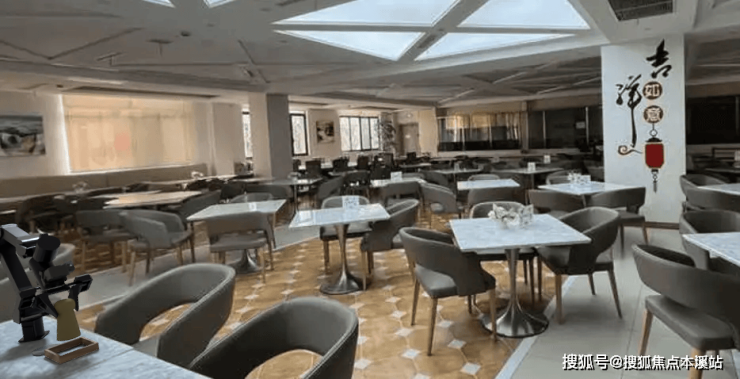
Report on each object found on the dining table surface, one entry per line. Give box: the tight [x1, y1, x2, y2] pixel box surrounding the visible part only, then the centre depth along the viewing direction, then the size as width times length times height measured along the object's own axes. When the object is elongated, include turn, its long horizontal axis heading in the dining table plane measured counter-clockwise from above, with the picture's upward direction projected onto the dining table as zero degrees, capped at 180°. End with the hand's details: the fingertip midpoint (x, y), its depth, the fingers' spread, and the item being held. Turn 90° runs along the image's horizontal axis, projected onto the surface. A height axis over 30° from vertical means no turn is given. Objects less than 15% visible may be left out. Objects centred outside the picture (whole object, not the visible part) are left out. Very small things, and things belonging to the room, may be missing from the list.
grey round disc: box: [32, 343, 60, 357], centre depth 139 cm, size 7×7×1 cm
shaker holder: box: [44, 336, 100, 365], centre depth 136 cm, size 10×10×2 cm
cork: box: [53, 298, 82, 342], centre depth 135 cm, size 6×6×11 cm
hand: (67, 313), depth 134 cm, fingers closed on cork, 5 cm apart
